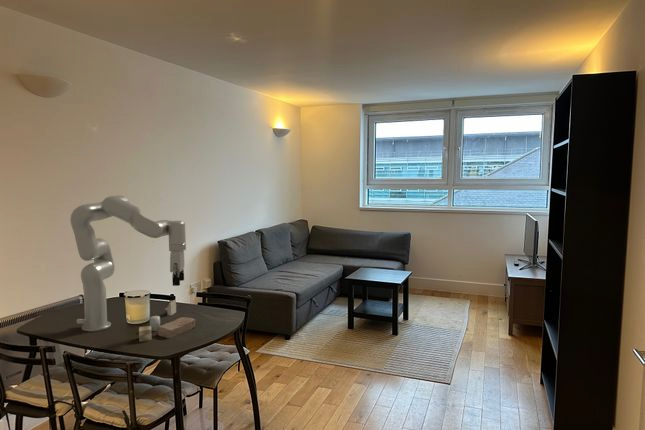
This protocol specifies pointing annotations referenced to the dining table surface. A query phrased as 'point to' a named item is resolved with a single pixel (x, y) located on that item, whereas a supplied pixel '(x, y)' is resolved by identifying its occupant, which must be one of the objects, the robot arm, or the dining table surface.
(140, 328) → the beech cube
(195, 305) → the dining table surface
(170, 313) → the architectural model
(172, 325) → the brick
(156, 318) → the grey cylinder
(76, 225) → the robot arm
